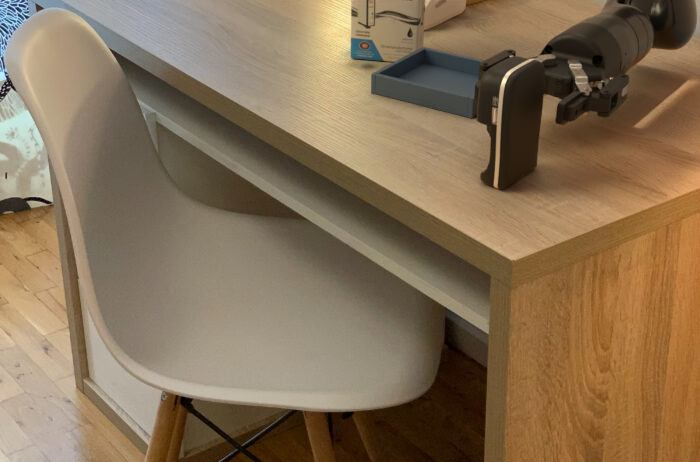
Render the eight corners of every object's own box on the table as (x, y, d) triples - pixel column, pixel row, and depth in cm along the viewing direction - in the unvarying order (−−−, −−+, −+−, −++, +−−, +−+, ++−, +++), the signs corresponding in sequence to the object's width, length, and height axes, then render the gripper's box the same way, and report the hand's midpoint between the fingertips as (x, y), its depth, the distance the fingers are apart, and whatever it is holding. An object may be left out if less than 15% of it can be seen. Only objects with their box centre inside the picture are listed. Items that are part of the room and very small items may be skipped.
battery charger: (505, 157, 107) (512, 47, 101) (538, 167, 105) (548, 56, 99) (467, 182, 102) (473, 68, 96) (502, 193, 100) (510, 77, 94)
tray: (520, 87, 124) (521, 68, 122) (472, 118, 116) (473, 98, 114) (422, 64, 130) (423, 46, 129) (370, 92, 122) (370, 73, 121)
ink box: (349, 59, 132) (348, -36, 126) (358, 46, 136) (358, -47, 131) (417, 64, 130) (420, -32, 125) (424, 51, 134) (427, -43, 129)
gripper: (532, 10, 115) (455, 52, 104) (659, 35, 108) (592, 83, 96) (526, 76, 119) (452, 124, 107) (650, 104, 112) (584, 159, 100)
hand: (518, 104), depth 102 cm, fingers open, 8 cm apart
